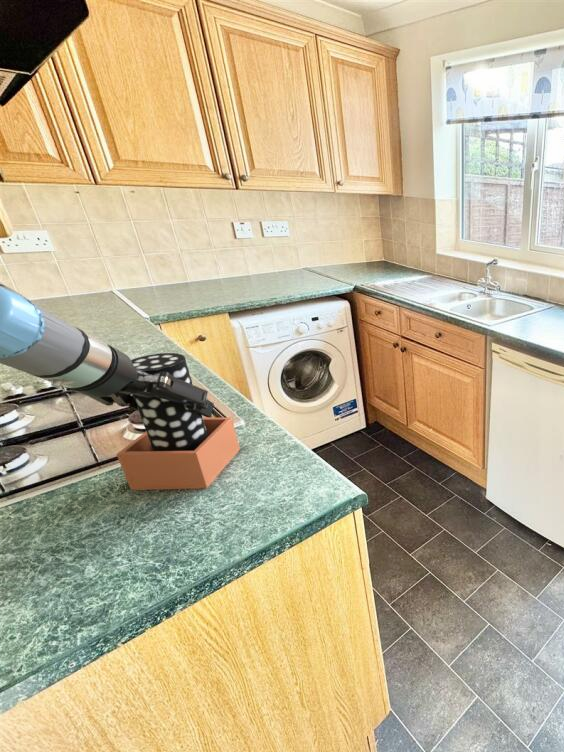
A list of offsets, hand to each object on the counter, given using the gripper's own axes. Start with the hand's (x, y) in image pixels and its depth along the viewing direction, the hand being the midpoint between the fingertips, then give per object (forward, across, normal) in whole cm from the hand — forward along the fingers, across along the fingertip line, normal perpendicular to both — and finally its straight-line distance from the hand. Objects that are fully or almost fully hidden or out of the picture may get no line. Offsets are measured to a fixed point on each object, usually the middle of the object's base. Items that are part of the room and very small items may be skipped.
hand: (184, 410), depth 79 cm
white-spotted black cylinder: (+4, 0, -9) cm, 9 cm away
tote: (+6, 0, -10) cm, 12 cm away
